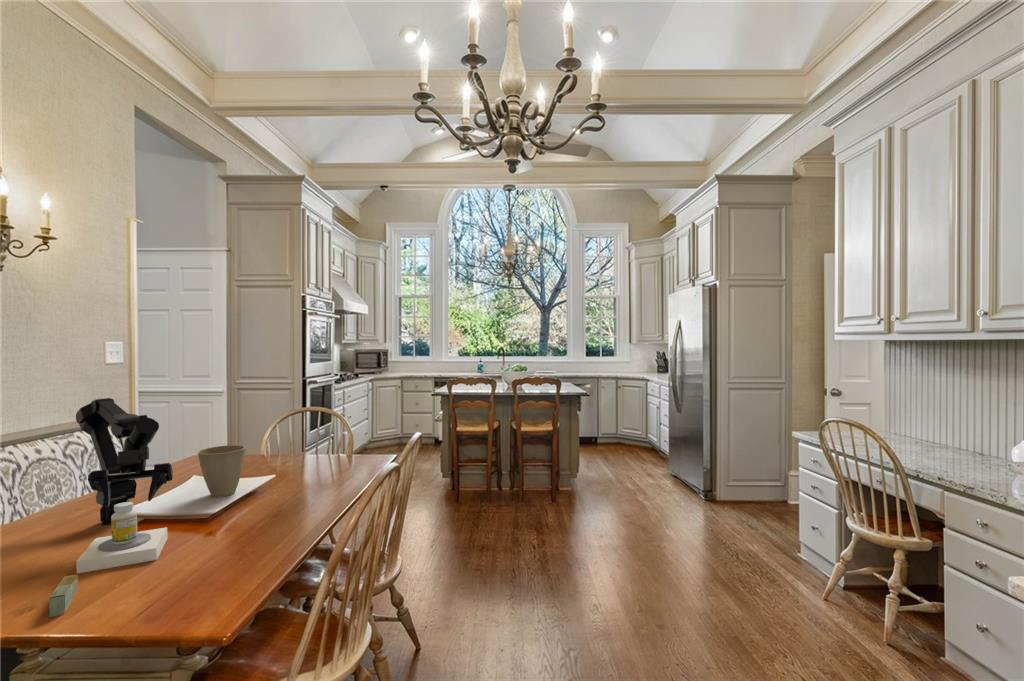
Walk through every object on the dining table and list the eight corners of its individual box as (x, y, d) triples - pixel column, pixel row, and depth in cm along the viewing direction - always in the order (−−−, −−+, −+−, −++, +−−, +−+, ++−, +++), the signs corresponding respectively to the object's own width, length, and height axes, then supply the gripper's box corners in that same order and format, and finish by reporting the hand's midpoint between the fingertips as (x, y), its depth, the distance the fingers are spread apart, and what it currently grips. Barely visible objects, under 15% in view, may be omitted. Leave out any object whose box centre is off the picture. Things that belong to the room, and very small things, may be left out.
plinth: (167, 538, 147) (167, 525, 147) (156, 559, 133) (156, 546, 133) (96, 549, 141) (95, 536, 141) (76, 573, 126) (76, 559, 126)
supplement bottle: (134, 543, 135) (133, 505, 135) (109, 546, 133) (107, 508, 133) (140, 535, 140) (138, 499, 140) (115, 539, 138) (114, 502, 138)
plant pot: (254, 492, 189) (253, 447, 189) (210, 503, 178) (208, 456, 177) (235, 485, 199) (233, 442, 198) (191, 495, 187) (190, 450, 187)
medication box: (65, 615, 107) (64, 595, 107) (47, 618, 106) (47, 598, 106) (78, 591, 118) (78, 573, 118) (62, 594, 117) (62, 575, 117)
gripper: (88, 441, 143) (78, 493, 133) (170, 434, 151) (166, 482, 142) (96, 464, 150) (87, 515, 140) (174, 456, 158) (171, 503, 149)
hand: (128, 503), depth 143 cm, fingers open, 9 cm apart
